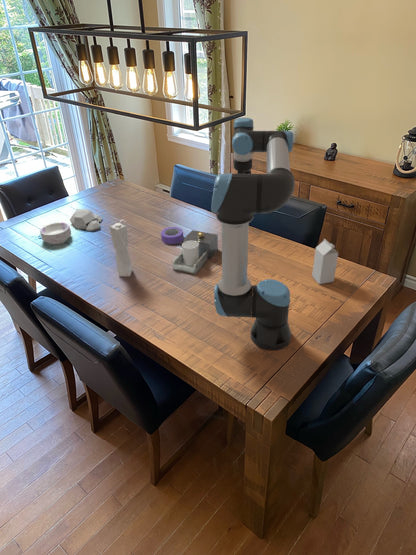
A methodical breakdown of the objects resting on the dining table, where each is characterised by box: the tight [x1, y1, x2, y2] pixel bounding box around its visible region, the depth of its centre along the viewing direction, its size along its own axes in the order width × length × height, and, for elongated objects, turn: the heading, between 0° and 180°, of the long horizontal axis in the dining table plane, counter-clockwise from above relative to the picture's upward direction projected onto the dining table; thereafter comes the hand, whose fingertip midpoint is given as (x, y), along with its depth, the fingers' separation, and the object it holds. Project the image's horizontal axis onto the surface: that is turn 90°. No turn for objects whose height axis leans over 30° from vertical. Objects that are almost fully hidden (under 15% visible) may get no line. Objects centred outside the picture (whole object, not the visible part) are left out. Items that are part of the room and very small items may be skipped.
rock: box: [69, 208, 103, 232], centre depth 238 cm, size 18×20×10 cm
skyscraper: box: [109, 219, 133, 277], centre depth 190 cm, size 8×8×28 cm
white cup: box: [181, 240, 199, 266], centre depth 200 cm, size 8×8×10 cm
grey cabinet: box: [171, 229, 219, 275], centre depth 203 cm, size 26×14×11 cm, turn 157°
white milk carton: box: [311, 238, 339, 285], centre depth 184 cm, size 7×7×19 cm
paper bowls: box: [39, 221, 72, 245], centre depth 224 cm, size 15×15×8 cm
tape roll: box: [160, 226, 185, 245], centre depth 223 cm, size 12×12×5 cm
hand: (242, 207), depth 180 cm, fingers open, 13 cm apart
